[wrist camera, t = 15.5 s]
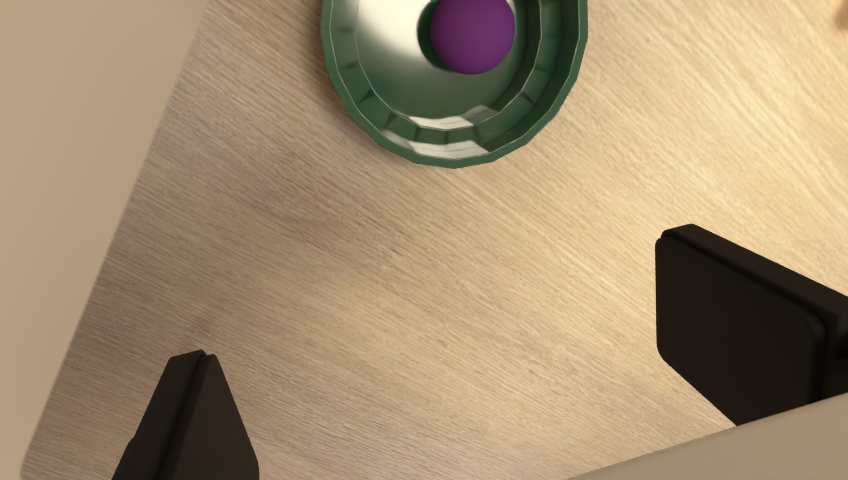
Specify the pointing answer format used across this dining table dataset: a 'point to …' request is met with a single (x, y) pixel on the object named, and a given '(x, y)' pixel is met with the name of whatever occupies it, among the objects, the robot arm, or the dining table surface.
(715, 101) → the dining table surface
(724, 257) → the robot arm
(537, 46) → the bowl
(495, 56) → the ball
